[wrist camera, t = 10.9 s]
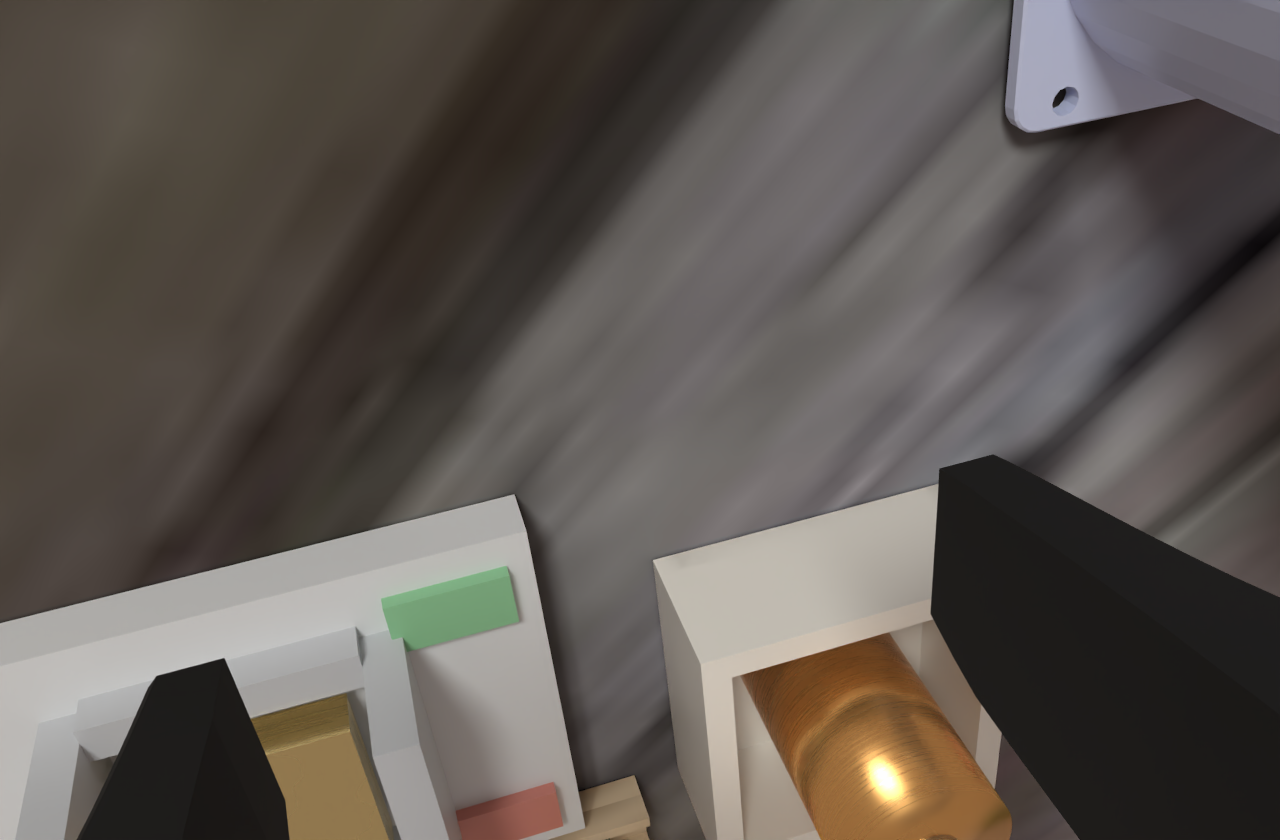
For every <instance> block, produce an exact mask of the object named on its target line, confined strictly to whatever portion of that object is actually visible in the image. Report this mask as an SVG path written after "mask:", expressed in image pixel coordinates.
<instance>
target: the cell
mask: <svg viewBox="0 0 1280 840" xmlns="http://www.w3.org/2000/svg"><path fill="white" fill-rule="evenodd" d="M740 677H741V679H742V681H743V683H744V685H745V687H746V689H747V691H748V693H749V695H750V697H751V699H752V701H753V703H754V705H755V707H756V709H757V711H758V713H759V715H760V717H761V719H762V721H763V723H764V725H765V727H766V729H767V731H768V733H769V735H770V737H771V739H772V741H773V743H774V745H775V747H776V749H777V752H778V754H779V756H780V758H781V760H782V762H783V764H784V766H785V768H786V770H787V772H788V774H789V776H790V778H791V780H792V782H793V784H794V786H795V788H796V790H797V792H798V794H799V796H800V798H801V800H802V802H803V804H804V806H805V808H806V810H807V812H808V814H809V816H810V818H811V820H812V822H813V824H814V827H815V829H816V831H817V833H818V835H819V837H820V839H821V840H1009V838H1010V835H1011V830H1012V819H1011V815H1010V812H1009V810H1008V809H1007V807H1006V806H1005V804H1004V803H1003V801H1002V800H1001V798H1000V797H999V795H998V794H997V792H996V791H995V789H994V788H993V786H992V785H991V783H990V782H989V780H988V779H987V777H986V776H985V774H984V773H983V771H982V770H981V768H980V767H979V765H978V764H977V762H976V761H975V759H974V758H973V756H972V755H971V753H970V752H969V751H968V749H967V748H966V746H965V745H964V743H963V742H962V740H961V739H960V737H959V736H958V734H957V733H956V731H955V730H954V728H953V727H952V725H951V724H950V722H949V721H948V719H947V718H946V716H945V715H944V713H943V712H942V710H941V709H940V707H939V706H938V704H937V703H936V701H935V700H934V698H933V697H932V695H931V694H930V692H929V691H928V690H927V688H926V687H925V685H924V684H923V682H922V681H921V679H920V678H919V676H918V675H917V673H916V672H915V670H914V669H913V667H912V666H911V664H910V663H909V661H908V660H907V658H906V657H905V655H904V654H903V652H902V651H901V649H900V648H899V646H898V645H897V643H896V642H895V640H894V639H893V637H892V636H891V634H890V633H889V632H888V633H884V634H881V635H877V636H874V637H870V638H867V639H864V640H860V641H857V642H853V643H850V644H846V645H843V646H839V647H836V648H832V649H829V650H826V651H822V652H819V653H815V654H812V655H808V656H805V657H801V658H798V659H795V660H791V661H788V662H784V663H781V664H777V665H774V666H770V667H767V668H763V669H760V670H757V671H753V672H750V673H746V674H743V675H740Z"/></svg>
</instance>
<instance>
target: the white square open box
mask: <svg viewBox="0 0 1280 840" xmlns="http://www.w3.org/2000/svg"><path fill="white" fill-rule="evenodd" d="M938 485H939V484H936V485H932V486H929V487H925V488H921V489H918V490H914V491H910V492H906V493H903V494H899V495H895V496H891V497H888V498H884V499H880V500H876V501H873V502H869V503H865V504H861V505H858V506H854V507H850V508H846V509H843V510H839V511H835V512H831V513H828V514H824V515H820V516H816V517H813V518H809V519H805V520H801V521H798V522H794V523H790V524H786V525H783V526H779V527H775V528H771V529H768V530H764V531H760V532H756V533H753V534H749V535H745V536H742V537H738V538H734V539H730V540H727V541H723V542H719V543H715V544H712V545H708V546H704V547H700V548H697V549H693V550H689V551H685V552H682V553H678V554H674V555H670V556H667V557H663V558H659V559H655V560H653V566H654V574H655V583H656V591H657V599H658V608H659V616H660V624H661V633H662V641H663V649H664V657H665V666H666V674H667V682H668V691H669V699H670V707H671V716H672V724H673V732H674V741H675V749H676V757H677V766H678V770H679V772H680V775H681V777H682V780H683V782H684V785H685V787H686V790H687V792H688V795H689V797H690V800H691V802H692V805H693V808H694V810H695V813H696V815H697V818H698V820H699V823H700V825H701V828H702V830H703V833H704V835H705V838H706V840H821V839H820V837H819V835H818V833H817V831H816V829H815V827H814V824H813V822H812V820H811V818H810V816H809V814H808V812H807V810H806V808H805V806H804V804H803V802H802V800H801V798H800V796H799V794H798V792H797V790H796V788H795V786H794V784H793V782H792V780H791V778H790V776H789V774H788V772H787V770H786V768H785V766H784V764H783V762H782V760H781V758H780V756H779V754H778V752H777V749H776V747H775V745H774V743H773V741H772V739H771V737H770V735H769V733H768V731H767V729H766V727H765V725H764V723H763V721H762V719H761V717H760V715H759V713H758V711H757V709H756V707H755V705H754V703H753V701H752V699H751V697H750V695H749V693H748V691H747V689H746V687H745V685H744V683H743V681H742V679H741V677H740V675H743V674H746V673H750V672H753V671H757V670H760V669H763V668H767V667H770V666H774V665H777V664H781V663H784V662H788V661H791V660H795V659H798V658H801V657H805V656H808V655H812V654H815V653H819V652H822V651H826V650H829V649H832V648H836V647H839V646H843V645H846V644H850V643H853V642H857V641H860V640H864V639H867V638H870V637H874V636H877V635H881V634H884V633H888V632H889V633H890V634H891V636H892V637H893V639H894V640H895V642H896V643H897V645H898V646H899V648H900V649H901V651H902V652H903V654H904V655H905V657H906V658H907V660H908V661H909V663H910V664H911V666H912V667H913V669H914V670H915V672H916V673H917V675H918V676H919V678H920V679H921V681H922V682H923V684H924V685H925V687H926V688H927V690H928V691H929V692H930V694H931V695H932V697H933V698H934V700H935V701H936V703H937V704H938V706H939V707H940V709H941V710H942V712H943V713H944V715H945V716H946V718H947V719H948V721H949V722H950V724H951V725H952V727H953V728H954V730H955V731H956V733H957V734H958V736H959V737H960V739H961V740H962V742H963V743H964V745H965V746H966V748H967V749H968V751H969V752H970V753H971V755H972V756H973V758H974V759H975V761H976V762H977V764H978V765H979V767H980V768H981V770H982V771H983V773H984V774H985V776H986V777H987V779H988V780H989V782H990V783H991V785H992V786H993V788H994V789H995V783H996V775H997V767H998V758H999V750H1000V742H1001V734H1002V733H1001V731H1000V730H999V729H998V727H997V726H996V725H995V723H994V722H993V720H992V719H991V718H990V716H989V715H988V713H987V712H986V711H985V709H984V708H983V706H982V705H981V704H980V702H979V701H978V699H977V698H976V696H975V695H974V693H973V691H972V689H971V688H970V686H969V684H968V682H967V681H966V679H965V677H964V675H963V674H962V672H961V670H960V668H959V667H958V665H957V663H956V661H955V660H954V658H953V656H952V654H951V652H950V650H949V648H948V646H947V644H946V643H945V641H944V639H943V637H942V635H941V633H940V631H939V629H938V627H937V626H936V624H935V622H934V620H933V618H932V616H931V614H930V611H931V596H932V580H933V564H934V548H935V533H936V517H937V501H938Z"/></svg>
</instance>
